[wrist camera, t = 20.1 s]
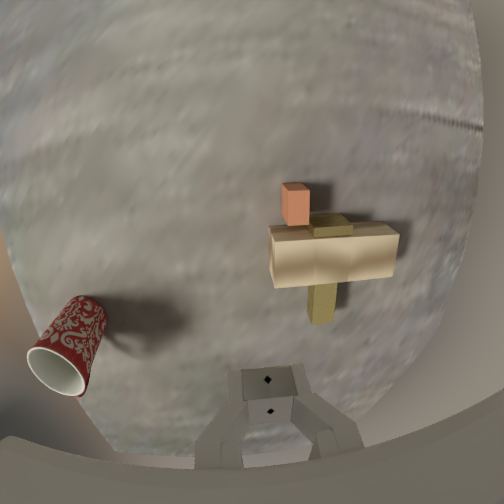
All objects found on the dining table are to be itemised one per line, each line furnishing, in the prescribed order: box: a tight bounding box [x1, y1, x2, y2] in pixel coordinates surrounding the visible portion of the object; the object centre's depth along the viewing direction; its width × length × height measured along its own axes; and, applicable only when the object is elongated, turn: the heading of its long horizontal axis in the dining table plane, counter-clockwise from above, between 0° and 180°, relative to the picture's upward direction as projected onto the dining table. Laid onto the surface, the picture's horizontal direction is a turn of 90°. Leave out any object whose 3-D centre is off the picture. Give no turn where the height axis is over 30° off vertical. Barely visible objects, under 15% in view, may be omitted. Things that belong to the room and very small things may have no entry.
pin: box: [305, 213, 353, 325], centre depth 38 cm, size 15×5×5 cm, turn 3°
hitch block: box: [269, 221, 400, 288], centre depth 37 cm, size 6×16×5 cm, turn 92°
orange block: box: [282, 183, 310, 226], centre depth 34 cm, size 4×2×4 cm, turn 2°
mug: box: [27, 296, 107, 397], centre depth 35 cm, size 13×9×14 cm
